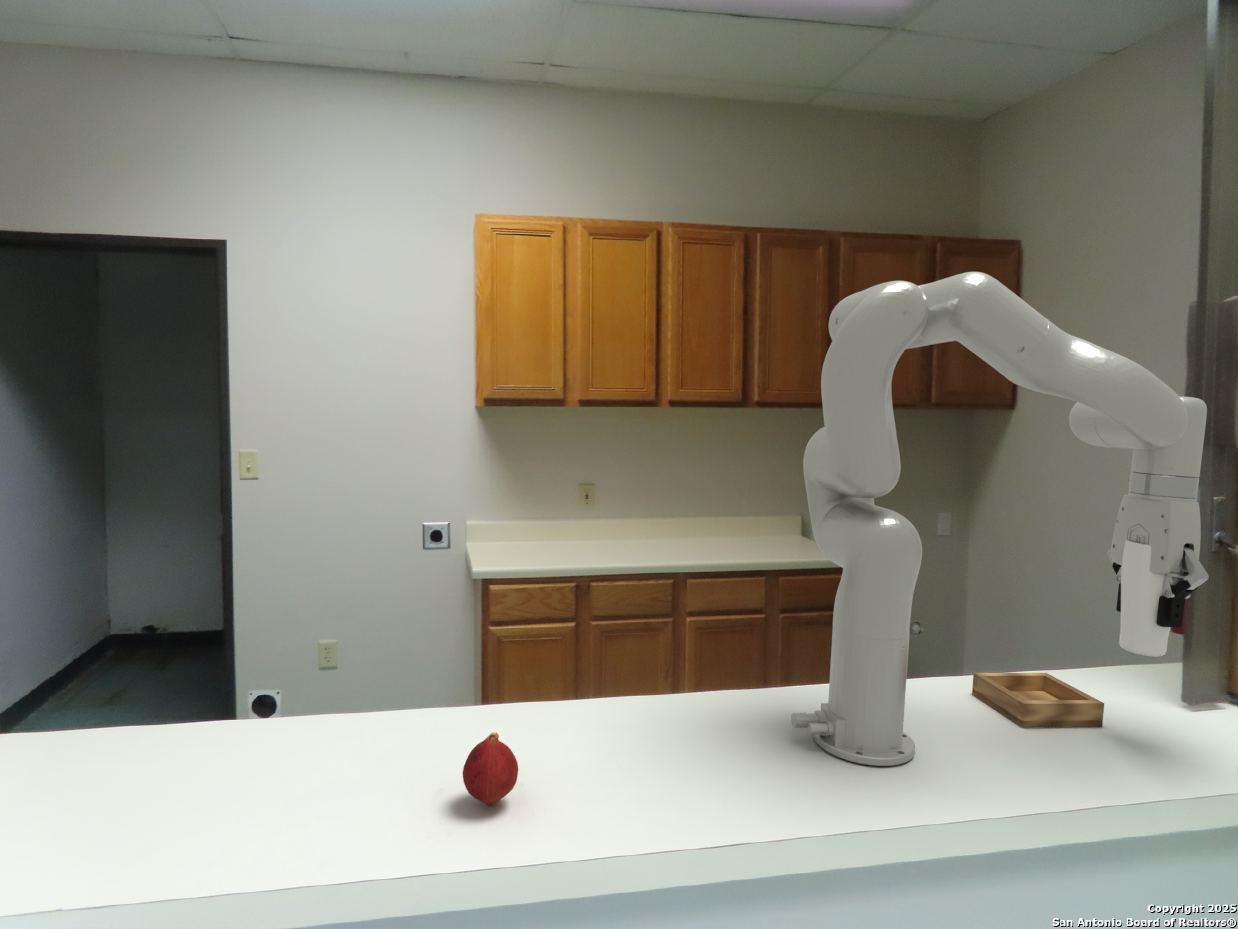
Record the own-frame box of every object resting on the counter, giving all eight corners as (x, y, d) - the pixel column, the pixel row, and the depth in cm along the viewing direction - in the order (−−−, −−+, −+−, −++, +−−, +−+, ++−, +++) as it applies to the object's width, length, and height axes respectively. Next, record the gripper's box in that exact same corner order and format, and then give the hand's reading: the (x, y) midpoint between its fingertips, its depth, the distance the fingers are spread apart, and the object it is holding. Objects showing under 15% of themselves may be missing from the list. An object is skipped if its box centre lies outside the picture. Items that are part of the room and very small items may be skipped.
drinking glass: (1153, 646, 106) (1165, 540, 104) (1184, 661, 99) (1197, 549, 98) (1102, 641, 106) (1114, 537, 105) (1129, 657, 99) (1142, 545, 98)
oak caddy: (1022, 727, 107) (1023, 703, 106) (972, 694, 119) (973, 673, 119) (1102, 727, 108) (1104, 703, 108) (1044, 694, 120) (1046, 672, 120)
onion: (468, 823, 77) (470, 748, 77) (457, 796, 82) (459, 725, 82) (523, 813, 79) (525, 740, 79) (508, 787, 85) (510, 718, 84)
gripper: (1090, 480, 109) (1077, 601, 110) (1193, 494, 92) (1176, 638, 93) (1137, 483, 110) (1123, 603, 111) (1248, 497, 93) (1230, 639, 94)
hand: (1147, 618), depth 102 cm, fingers closed on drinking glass, 6 cm apart
